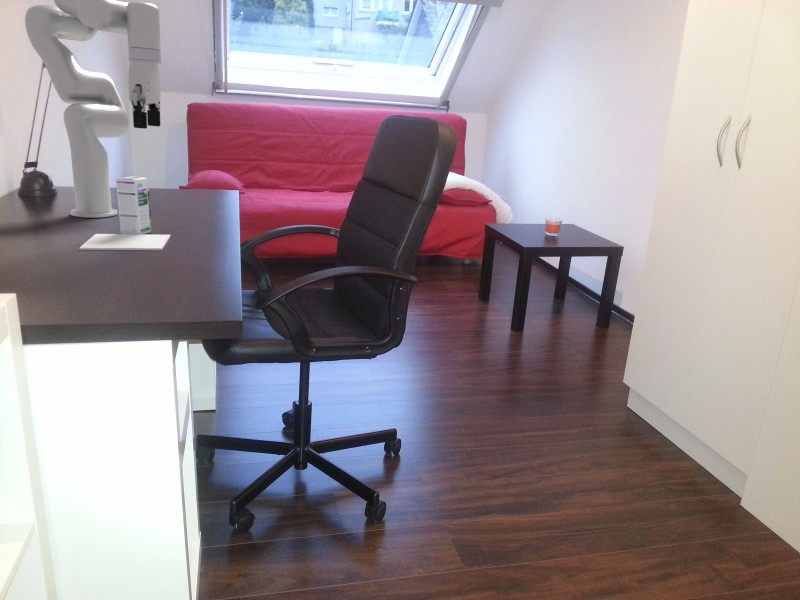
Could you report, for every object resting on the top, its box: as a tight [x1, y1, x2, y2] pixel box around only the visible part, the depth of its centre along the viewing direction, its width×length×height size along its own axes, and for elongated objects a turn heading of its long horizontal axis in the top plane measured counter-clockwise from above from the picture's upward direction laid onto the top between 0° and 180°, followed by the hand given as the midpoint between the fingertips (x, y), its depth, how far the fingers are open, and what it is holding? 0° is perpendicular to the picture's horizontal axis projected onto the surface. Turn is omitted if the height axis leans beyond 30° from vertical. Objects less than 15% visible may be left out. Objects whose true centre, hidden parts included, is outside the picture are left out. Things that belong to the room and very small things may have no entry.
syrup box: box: [115, 176, 153, 234], centre depth 167 cm, size 6×6×14 cm
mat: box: [78, 233, 171, 251], centre depth 158 cm, size 16×18×1 cm
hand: (147, 127), depth 167 cm, fingers open, 9 cm apart
